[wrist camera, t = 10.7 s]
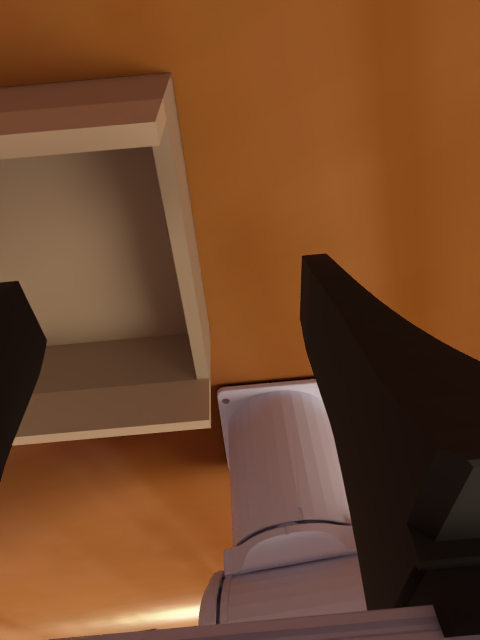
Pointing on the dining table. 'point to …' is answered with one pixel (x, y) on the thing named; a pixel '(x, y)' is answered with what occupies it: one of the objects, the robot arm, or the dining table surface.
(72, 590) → the dining table surface
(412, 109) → the dining table surface
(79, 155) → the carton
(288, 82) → the dining table surface
